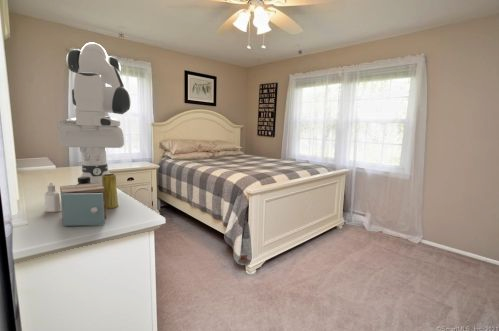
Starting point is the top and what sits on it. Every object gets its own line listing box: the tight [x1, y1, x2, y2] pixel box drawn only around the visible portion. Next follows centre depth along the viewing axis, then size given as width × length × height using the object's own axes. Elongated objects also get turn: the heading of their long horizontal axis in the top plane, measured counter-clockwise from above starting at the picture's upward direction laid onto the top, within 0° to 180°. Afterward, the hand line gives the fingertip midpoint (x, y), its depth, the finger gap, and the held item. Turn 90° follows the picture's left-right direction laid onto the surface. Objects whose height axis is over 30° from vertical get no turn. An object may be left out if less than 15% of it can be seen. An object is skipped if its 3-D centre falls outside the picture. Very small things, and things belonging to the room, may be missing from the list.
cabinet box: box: [59, 183, 107, 220], centre depth 100 cm, size 12×13×12 cm
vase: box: [102, 173, 119, 210], centre depth 114 cm, size 6×6×14 cm
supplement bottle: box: [76, 176, 91, 185], centre depth 118 cm, size 7×7×12 cm
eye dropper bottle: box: [44, 181, 61, 213], centre depth 107 cm, size 4×6×12 cm
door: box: [60, 193, 105, 227], centre depth 91 cm, size 2×13×11 cm, turn 99°
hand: (93, 160), depth 93 cm, fingers open, 2 cm apart
